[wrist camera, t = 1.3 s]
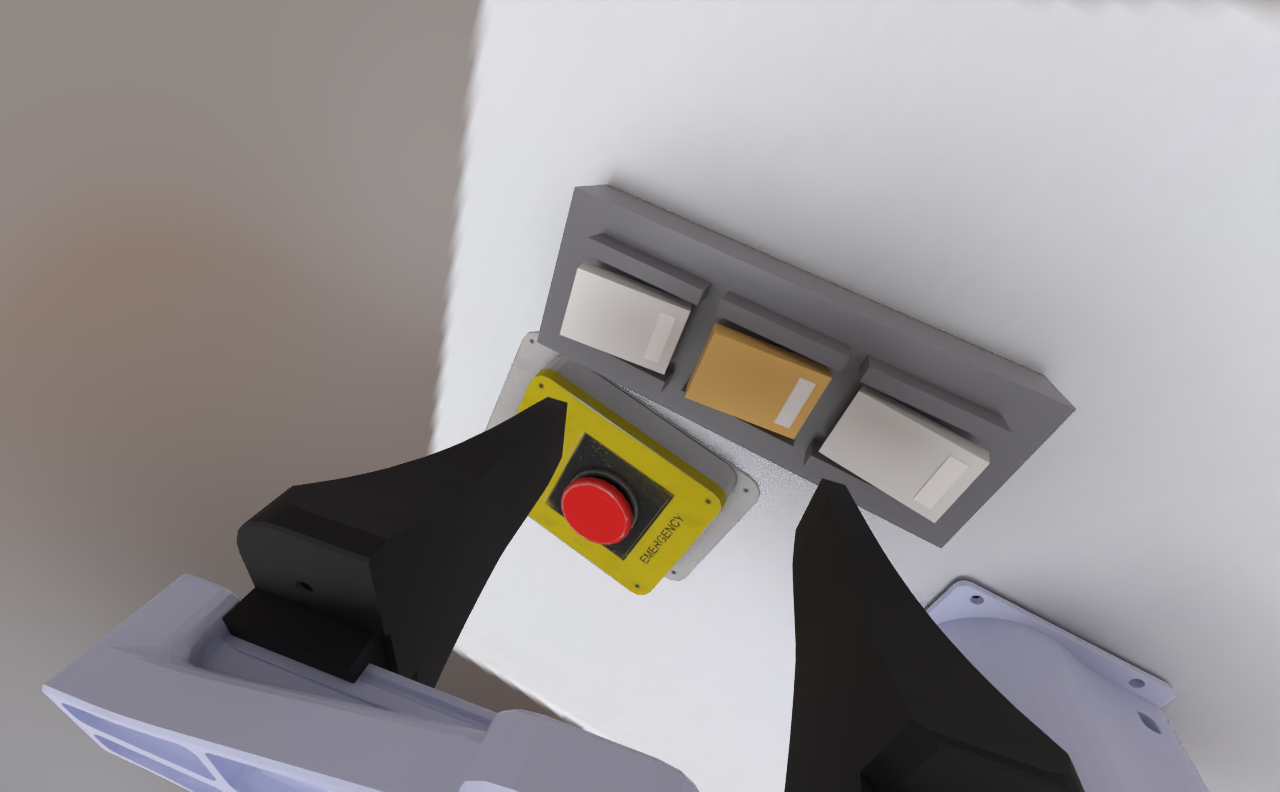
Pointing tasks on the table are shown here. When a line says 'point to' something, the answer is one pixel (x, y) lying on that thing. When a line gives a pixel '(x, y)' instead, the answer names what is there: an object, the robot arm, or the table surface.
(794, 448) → the switch strip
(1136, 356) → the table surface
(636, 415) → the emergency button
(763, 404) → the rocker amber
